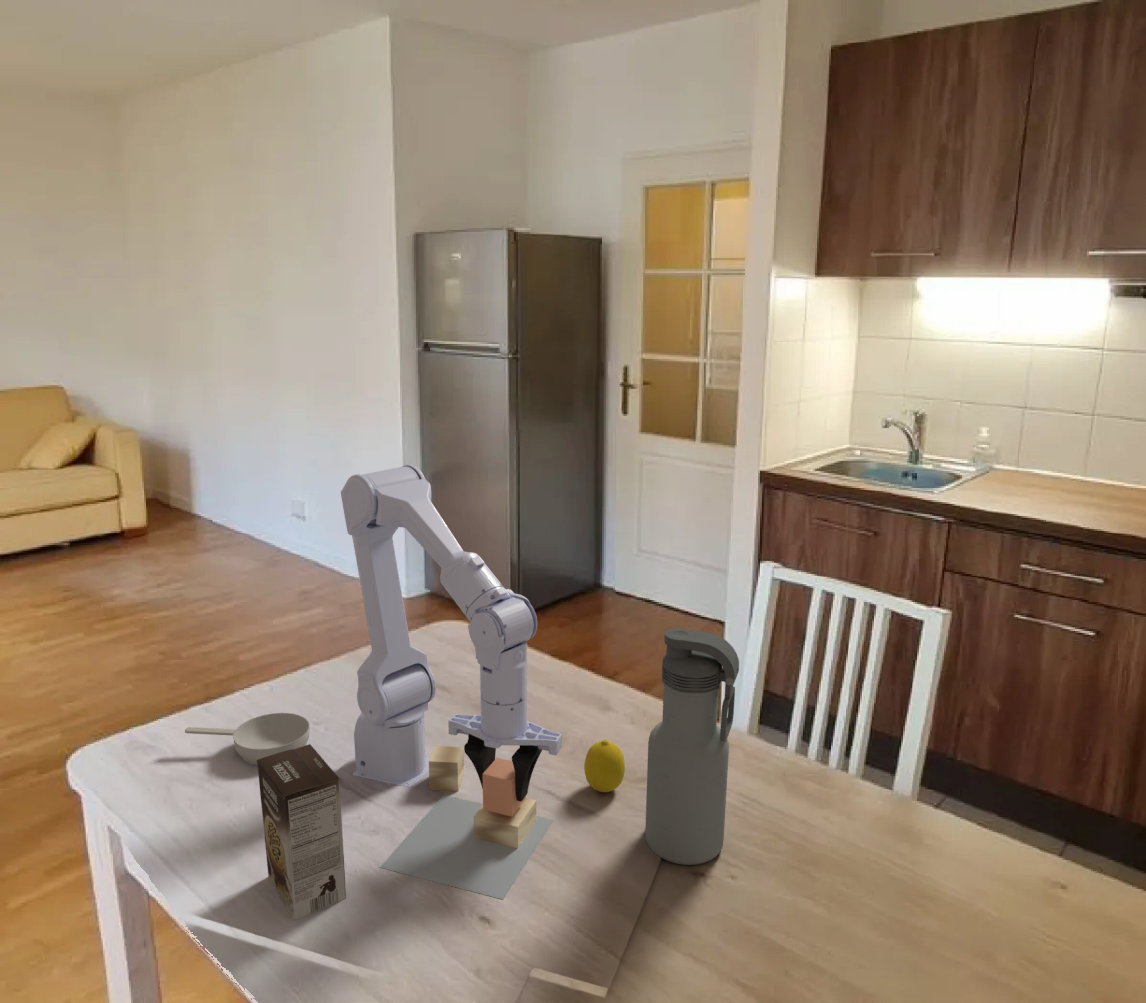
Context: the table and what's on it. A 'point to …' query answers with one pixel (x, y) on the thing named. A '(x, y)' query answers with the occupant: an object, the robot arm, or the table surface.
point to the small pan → (264, 735)
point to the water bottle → (690, 749)
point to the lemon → (604, 766)
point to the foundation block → (505, 824)
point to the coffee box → (302, 830)
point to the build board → (462, 851)
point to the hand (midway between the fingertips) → (505, 793)
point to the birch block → (446, 768)
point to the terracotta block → (500, 788)
